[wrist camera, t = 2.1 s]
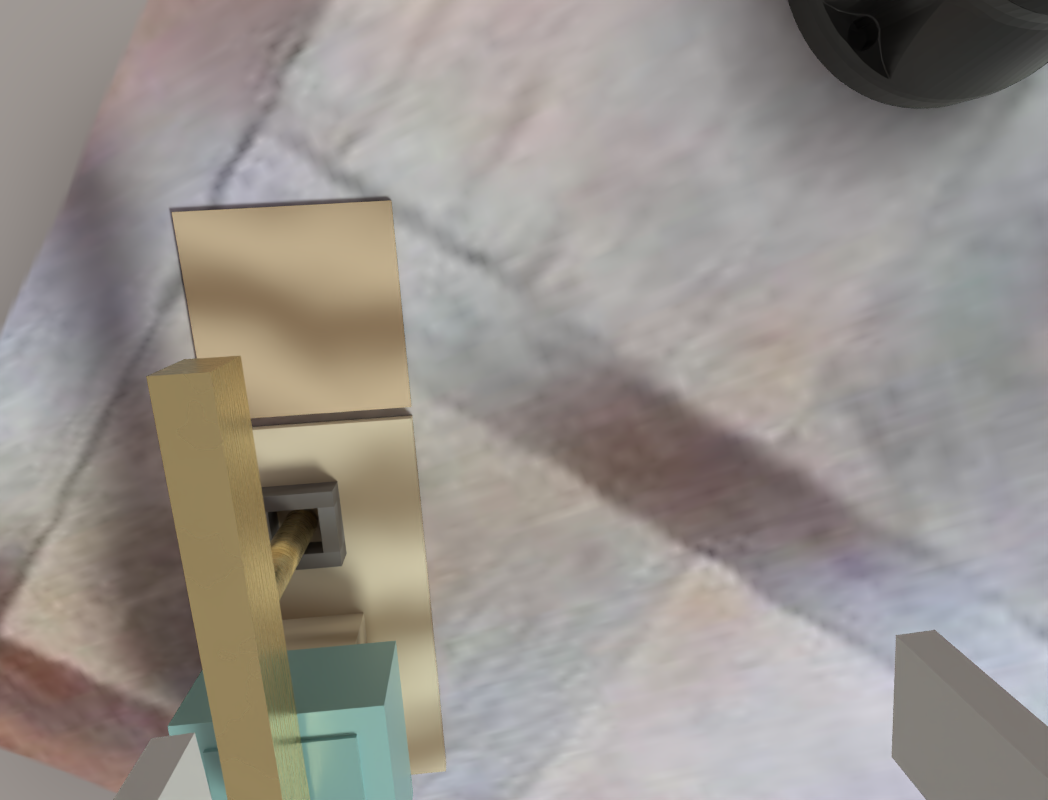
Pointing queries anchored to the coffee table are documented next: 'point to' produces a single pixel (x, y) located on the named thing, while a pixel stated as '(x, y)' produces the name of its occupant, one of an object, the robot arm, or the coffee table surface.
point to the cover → (330, 723)
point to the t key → (233, 573)
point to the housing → (359, 553)
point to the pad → (299, 303)
